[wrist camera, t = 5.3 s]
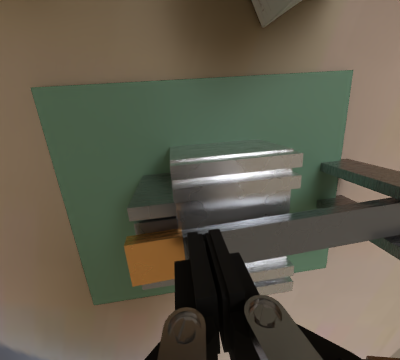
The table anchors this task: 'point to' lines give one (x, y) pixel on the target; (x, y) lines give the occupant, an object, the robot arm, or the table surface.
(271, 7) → the supplement box
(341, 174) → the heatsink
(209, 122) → the pcb board
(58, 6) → the table surface
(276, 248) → the grey and orange bar
